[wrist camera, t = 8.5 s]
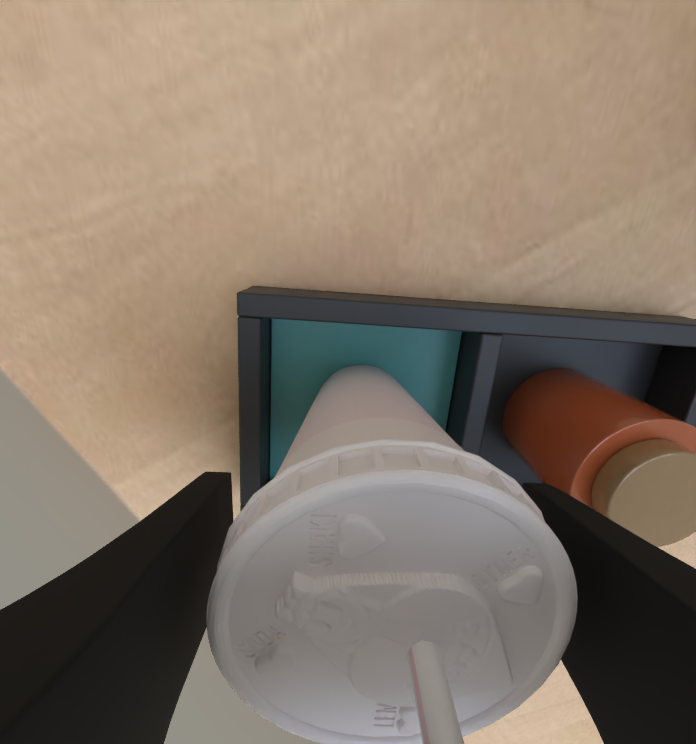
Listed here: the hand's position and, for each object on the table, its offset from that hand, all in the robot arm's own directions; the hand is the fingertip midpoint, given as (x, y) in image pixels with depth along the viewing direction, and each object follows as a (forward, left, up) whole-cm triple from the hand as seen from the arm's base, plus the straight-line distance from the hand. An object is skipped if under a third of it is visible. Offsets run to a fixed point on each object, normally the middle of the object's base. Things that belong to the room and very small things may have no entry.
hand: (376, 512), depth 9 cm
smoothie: (0, 0, -7) cm, 7 cm away
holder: (-4, 0, -7) cm, 8 cm away
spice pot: (-8, 0, -7) cm, 11 cm away
